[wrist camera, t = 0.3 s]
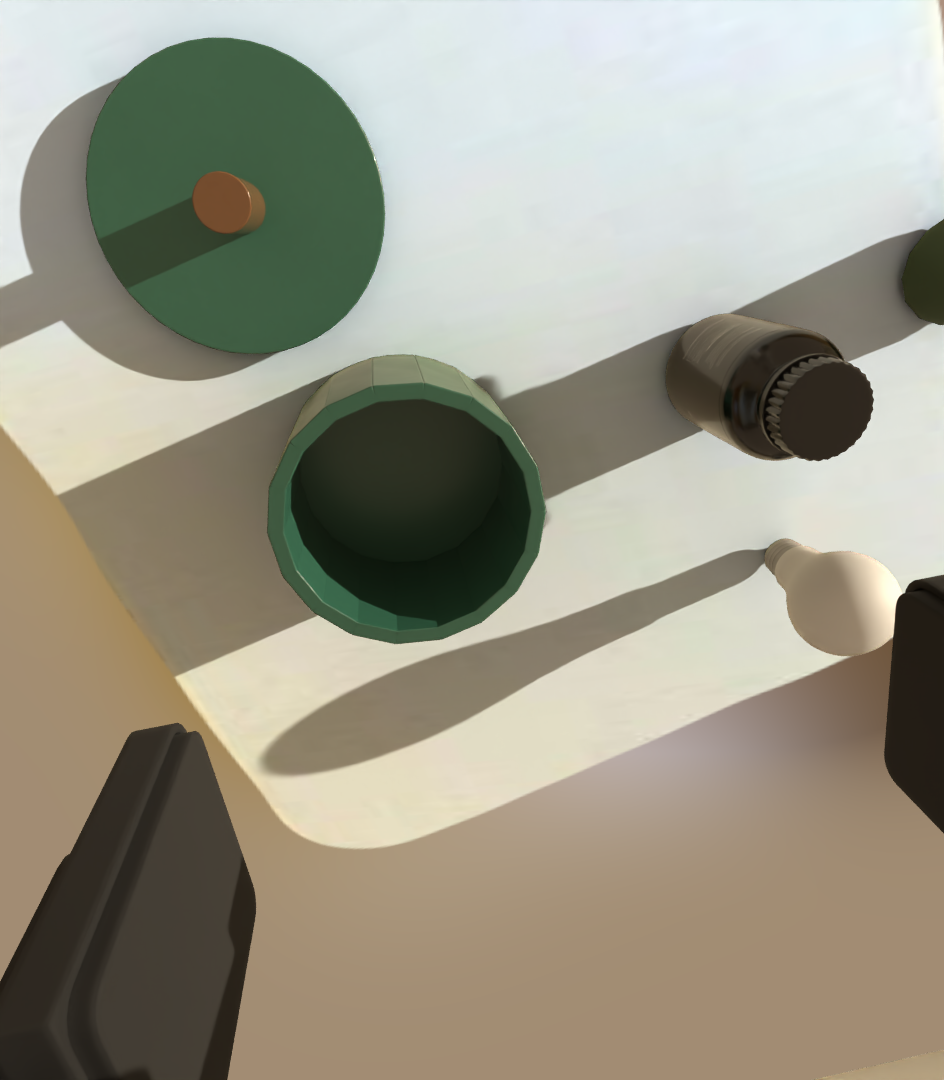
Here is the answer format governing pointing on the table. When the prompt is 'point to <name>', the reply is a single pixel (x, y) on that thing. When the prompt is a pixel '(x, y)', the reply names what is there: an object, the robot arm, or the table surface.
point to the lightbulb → (835, 597)
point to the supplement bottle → (768, 388)
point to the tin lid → (235, 195)
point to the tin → (404, 502)
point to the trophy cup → (926, 276)
